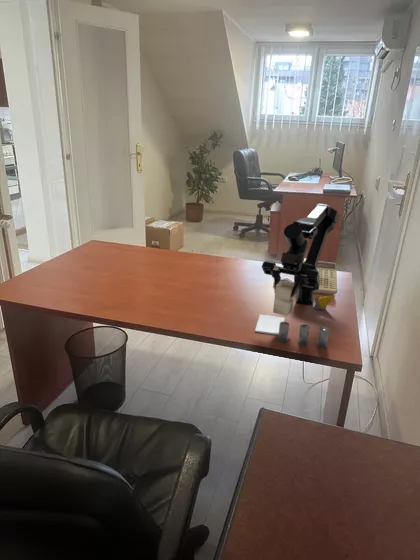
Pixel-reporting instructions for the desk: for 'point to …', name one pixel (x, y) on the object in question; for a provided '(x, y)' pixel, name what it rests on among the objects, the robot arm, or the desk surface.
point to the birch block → (283, 298)
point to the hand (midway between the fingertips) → (283, 295)
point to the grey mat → (269, 324)
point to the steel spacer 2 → (323, 337)
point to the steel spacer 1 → (283, 331)
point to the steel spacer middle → (304, 334)
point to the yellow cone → (323, 302)
